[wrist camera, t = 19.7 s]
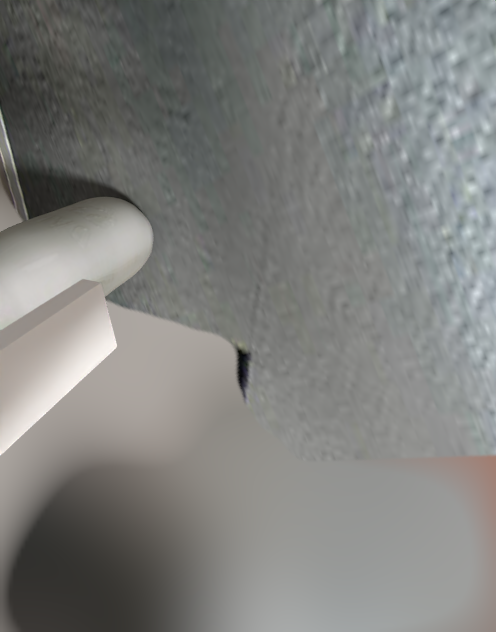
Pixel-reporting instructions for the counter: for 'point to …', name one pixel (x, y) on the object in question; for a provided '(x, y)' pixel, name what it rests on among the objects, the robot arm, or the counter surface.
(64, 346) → the robot arm
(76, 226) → the glass bottle
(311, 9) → the counter surface
